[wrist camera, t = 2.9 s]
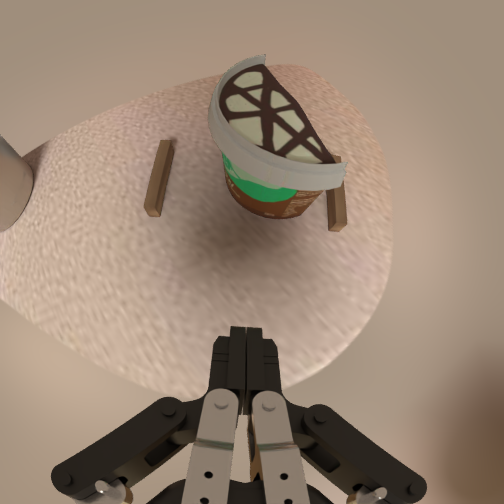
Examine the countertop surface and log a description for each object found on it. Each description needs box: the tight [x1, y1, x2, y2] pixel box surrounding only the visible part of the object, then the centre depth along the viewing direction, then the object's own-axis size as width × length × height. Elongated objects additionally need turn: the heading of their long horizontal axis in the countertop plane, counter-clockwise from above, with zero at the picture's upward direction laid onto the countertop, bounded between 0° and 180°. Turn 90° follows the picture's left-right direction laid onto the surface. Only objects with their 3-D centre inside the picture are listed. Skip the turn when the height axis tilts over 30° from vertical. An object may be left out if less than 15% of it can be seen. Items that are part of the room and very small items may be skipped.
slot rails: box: [144, 140, 347, 232], centre depth 24 cm, size 17×7×2 cm, turn 87°
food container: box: [208, 54, 348, 219], centre depth 20 cm, size 12×6×10 cm, turn 24°
